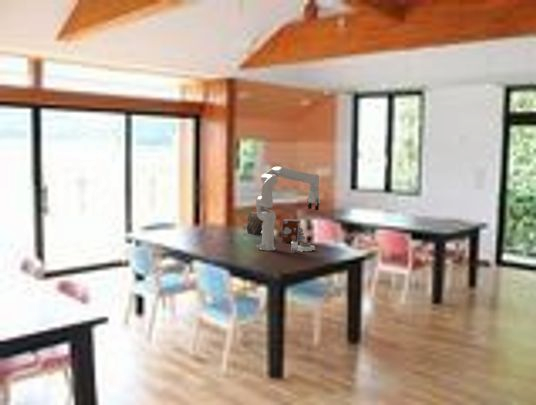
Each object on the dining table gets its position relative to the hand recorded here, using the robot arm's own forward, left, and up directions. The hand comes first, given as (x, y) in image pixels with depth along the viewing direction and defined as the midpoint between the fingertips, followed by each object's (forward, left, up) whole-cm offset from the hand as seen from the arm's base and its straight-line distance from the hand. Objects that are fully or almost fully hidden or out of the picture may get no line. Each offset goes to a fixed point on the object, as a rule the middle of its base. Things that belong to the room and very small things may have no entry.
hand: (313, 209), depth 470 cm
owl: (-13, +72, -31) cm, 79 cm away
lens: (-32, -19, -31) cm, 48 cm away
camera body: (-18, -14, -31) cm, 38 cm away
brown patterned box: (-6, +19, -31) cm, 37 cm away
